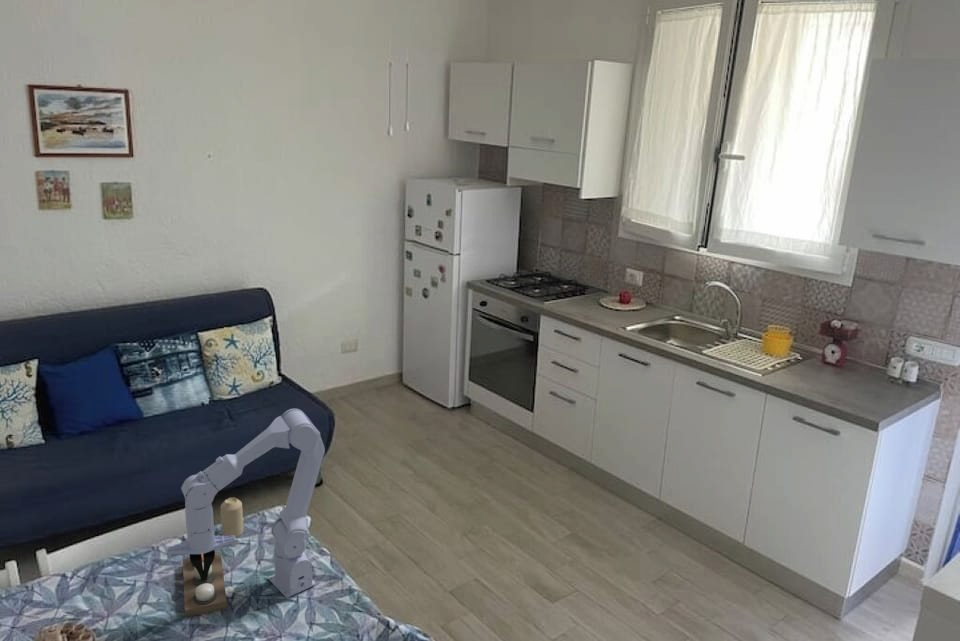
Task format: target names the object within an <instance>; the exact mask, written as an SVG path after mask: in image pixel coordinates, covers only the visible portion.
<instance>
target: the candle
mask: <svg viewBox="0 0 960 641" xmlns="http://www.w3.org/2000/svg"><path fill="white" fill-rule="evenodd" d="M243 514H244V513H243V503H242V501H241V500H240V499H238V498H236V497H234V496H233V497H228V498H227V499H225V500H224V501H223V502H222V503H221V505H220V521H221V533H222V536H232V535H235V538H238V537H240V536H241V535H242V534H243V533H244V516H243Z"/></svg>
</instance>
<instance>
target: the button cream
mask: <svg viewBox="0 0 960 641" xmlns="http://www.w3.org/2000/svg"><path fill="white" fill-rule="evenodd" d="M195 591H196V599H197V600H199V601H207V600H210V599H211V598H212V597H213V596H214V586H213V585H212V584H209V583H205V584H201V585H199V586H198V587H197V588H196V590H195Z"/></svg>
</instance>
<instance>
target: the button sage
mask: <svg viewBox="0 0 960 641" xmlns="http://www.w3.org/2000/svg"><path fill="white" fill-rule="evenodd" d="M202 565H203V571H204V562H202ZM211 574H212V565H211V566H210V569H209V572H208V577H209V576H211ZM194 575H195V577H196V578H197V579H201V578H200V575H199V573H198V571H197V569H196V568H195V567H194Z"/></svg>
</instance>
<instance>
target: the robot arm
mask: <svg viewBox="0 0 960 641" xmlns="http://www.w3.org/2000/svg"><path fill="white" fill-rule="evenodd" d="M290 444H291V445H292V446H293V447H294V448H296V449H297V450H300V454H299V457H298V462H297V464H296V467H295V468H296V469H295V472H294V476H293V479H292V483H291V485H290V486H291V487H290V489H289V492H288V497H287V500H286V504H285V507H284V510H281V511H280V512H279V514H278V517H277V518H276V520H275V521H274V523H273V524H272V527H271V535H272V537H273V538H274V540H275V541H276V542H275V544H274V547H273V552H274V553H273V554H274V556H273V558H274V560H273V561H274V574H271V575H269V577H268V580H269V581H270V582H271V583H272V584H273V586H274V587H276V589H278V591H280V593H281V594H282V595H283V596H284V597H285V598H290V597H292V596H294V595H297V594H299V593H300V592H303V591H305V590H307V589H310V588H311V587H314V586H315V585H316V584H317V583H316V582H315V580H313V565H312V562H311V561H310V560H309V559H308V557H307V555H306V549H307V546H308V540H307V535H308V534H307V533H308V524H307V518H306V517H307V514H308V511H309V507H310V503H311V501H312V497H313V493H314V490H315V488H316V483H317V480H318V475H319V472H320V469H321V465H322V462H323V459H324V455H325V452H326V450H325V445H324V443H323V440H322V437H321V432H320V431H319V429H318V428H317V427H316V426H315V425H314V423H313V422H312V421H311V419H310V417H308V415H307V414H306V413H305V412H304V411H302V410H301V409H299V408H290V409H288V410H286V411H285V412H283V414H281V415H279V416H277V417H275V419H274V420H273V421H272V422H271V423H270V425H269V426H267V428H266V429H265V430H263V431H262V432H261V433H259V434H258V435H257V436H256V437H255V438H253V439H252V440H251V441H250V442H249V443H247V444H246V445H244V447H242V448H240V450H238V451H237V452H236V453H235V454H231V453H229V454H227V453H226V454H225V455H224V456H220V455H219V456H218V457H217V458H216V459H215V462H214V463H212V464H210V465H209V466H208V467H206V468H205V469H204V470H203V471H201V470H200V471H199V472H197V473H195V474H193V475H190V476H189V477H187V478H186V479H185V480H184V481H183V483H182V485H181V487H180V490H181V492H182V494H183V496H184V502H185V503H184V507H185V510H184V512H185V515H184V516H185V525H186V526H185V527H186V536H187V538H186V539H187V540H185V541H183V542H180V543H177V544H175V545H171V546H166V556H167V560H171V559H173V558H174V557H178V556H184V555H189V558H190V561H191V563H192V564H193V565H194V566H195V568H196V569H197V571H198V573H199V575H200V578H201V581H203V580H207V579H208V572H209V569H210V566H211V564H212V562H213V560H214V558H215V553H216V551H215V550H217V549H223V548H227V547H230V548H236V546H237V544H236V537H235V535H232V536H223V535H215V525H214V524H215V523H214V510H213V505H212V503H213V501H214V500H215V496H216V495H217V494H218V492H220V491H221V490H222V489H224V488H225V487H226V486H228V485H229V484H231V483H232V482H233V481H235V480H236V479H237V478H238V477H240V476H241V475H243V474H242V473H243V471H244V470H243V469H244V468H245V467H246V466H247V465H248V464H250V463H251V462H253V461H255V460H256V459H258V458H260V457H261V456H263V455H264V454H266V453H267V452H268V451H270V450H271V449H273V448H281V449H290V448H291V447H290ZM201 554H203V558H204V571H203V565H202V556H201Z"/></svg>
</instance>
